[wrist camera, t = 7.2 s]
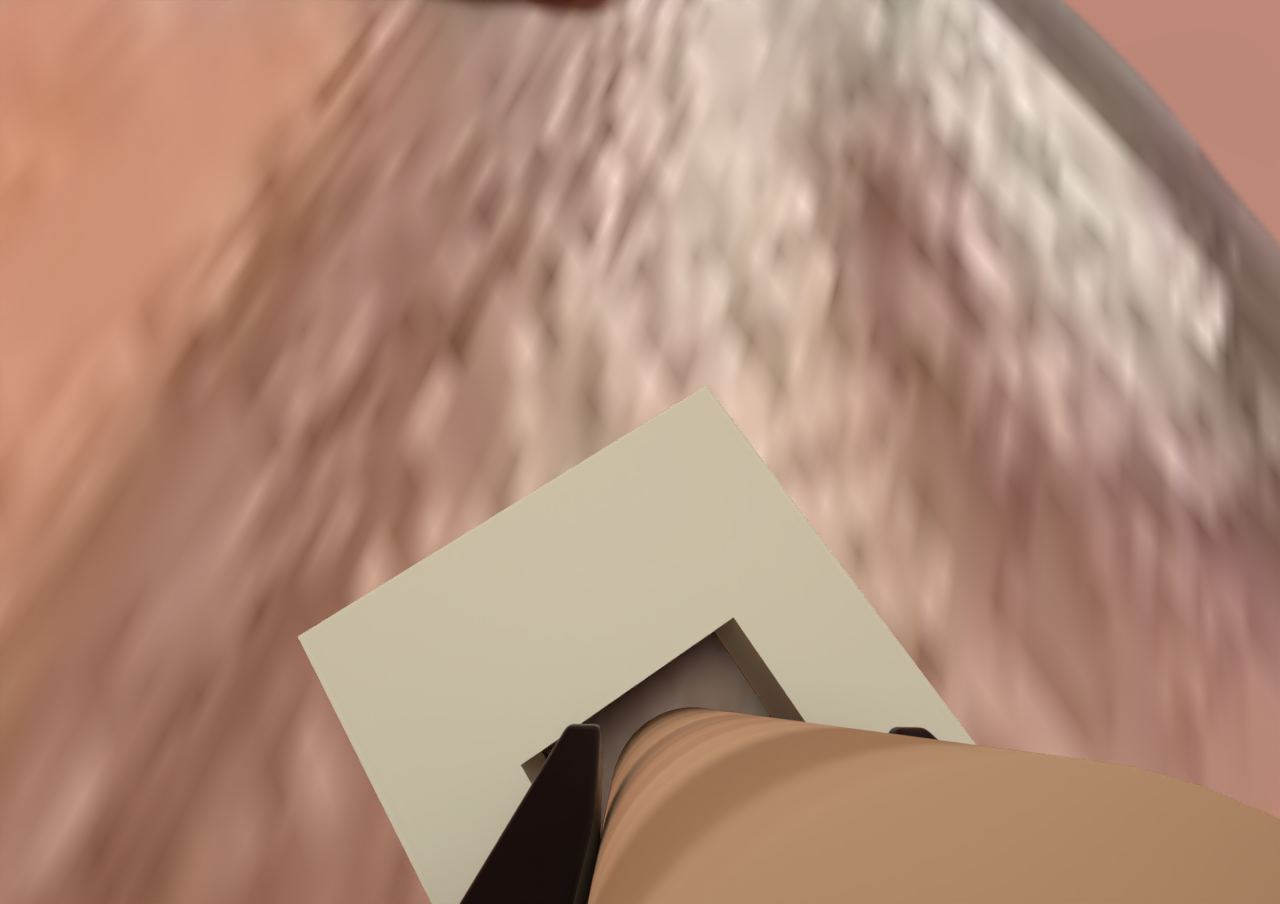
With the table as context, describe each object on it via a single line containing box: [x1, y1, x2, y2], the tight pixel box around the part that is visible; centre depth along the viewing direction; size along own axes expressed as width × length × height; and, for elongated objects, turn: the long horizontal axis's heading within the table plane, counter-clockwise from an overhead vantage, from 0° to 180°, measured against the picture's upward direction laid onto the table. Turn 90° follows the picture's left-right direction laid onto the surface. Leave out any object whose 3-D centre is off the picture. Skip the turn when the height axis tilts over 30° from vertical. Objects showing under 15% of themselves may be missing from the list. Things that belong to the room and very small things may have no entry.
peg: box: [588, 708, 1280, 904], centre depth 9 cm, size 4×4×14 cm
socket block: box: [298, 385, 976, 904], centre depth 15 cm, size 14×10×4 cm
